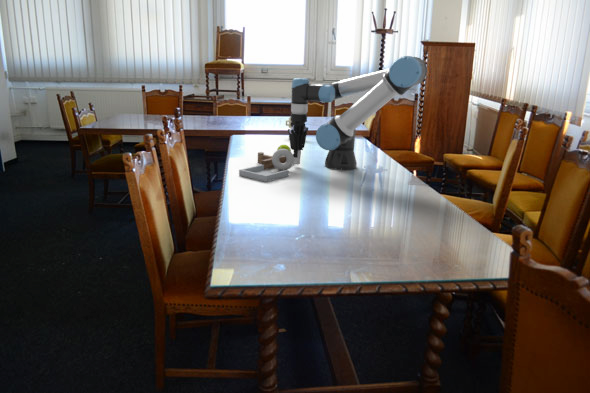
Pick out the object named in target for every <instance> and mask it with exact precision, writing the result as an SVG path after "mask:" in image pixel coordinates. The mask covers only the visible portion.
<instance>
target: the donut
mask: <svg viewBox="0 0 590 393" xmlns="http://www.w3.org/2000/svg"><path fill="white" fill-rule="evenodd" d="M293 154H294V153H293V152H292V151H291V152H290V151H289V150H287V149H279V150H277V149H276V151H274V152H273V154H272V155H271V156H272V163H273V165H274V168H275V169H277V170H279V171H284V170H290V169H291V168H292V167H293V165H294V164H293V163H294V156H293ZM281 156H285V157H286V159H287V161H286V162H285V163H281V162H280V161H279V158H280V157H281Z"/></svg>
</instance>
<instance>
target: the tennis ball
mask: <svg viewBox="0 0 590 393" xmlns="http://www.w3.org/2000/svg"><path fill="white" fill-rule="evenodd" d="M279 149H287V150H289V151H290V152H291V153H292V151H291V150H292V149H291V147H290V145H287V144H281V145H279V146H278V147H277V149H276V151H277V150H279Z"/></svg>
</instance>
